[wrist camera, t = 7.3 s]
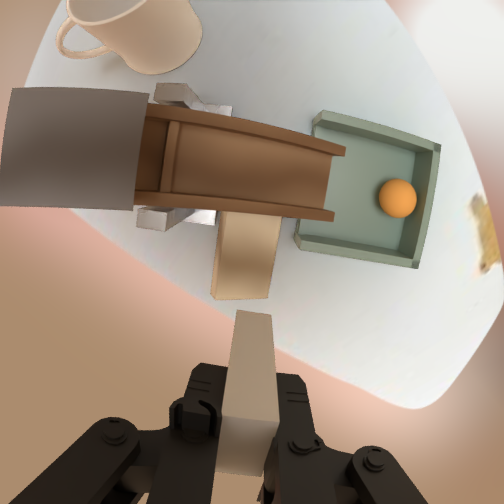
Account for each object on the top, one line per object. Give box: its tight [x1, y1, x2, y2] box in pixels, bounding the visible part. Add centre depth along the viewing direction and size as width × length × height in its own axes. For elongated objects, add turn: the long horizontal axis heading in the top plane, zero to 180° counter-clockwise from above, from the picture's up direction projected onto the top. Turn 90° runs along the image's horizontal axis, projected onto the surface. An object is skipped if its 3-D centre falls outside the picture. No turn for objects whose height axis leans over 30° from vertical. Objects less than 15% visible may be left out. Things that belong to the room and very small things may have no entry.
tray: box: [294, 110, 441, 269], centre depth 26 cm, size 12×11×4 cm
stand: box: [136, 83, 233, 231], centre depth 23 cm, size 11×6×10 cm, turn 171°
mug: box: [56, 0, 202, 75], centre depth 19 cm, size 12×8×12 cm
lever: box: [0, 87, 346, 300], centre depth 18 cm, size 13×22×6 cm, turn 81°
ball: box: [379, 179, 417, 218], centre depth 26 cm, size 4×4×4 cm
